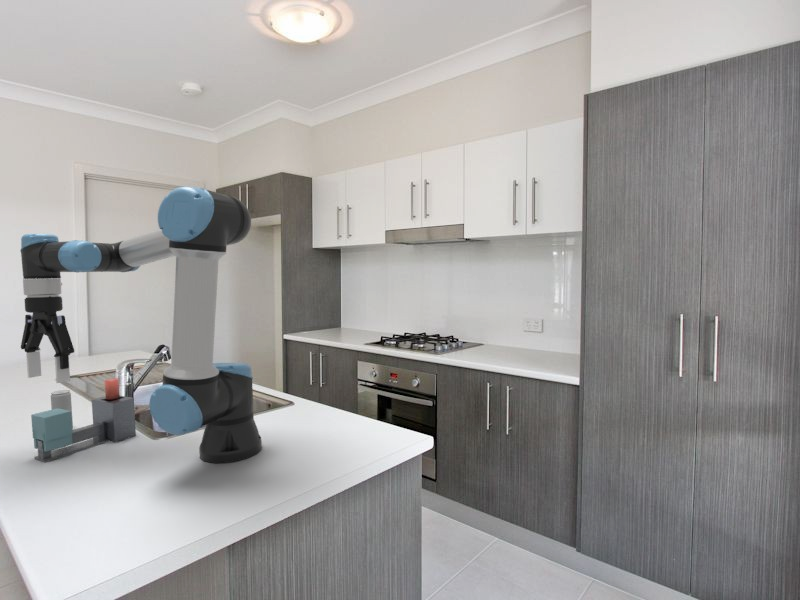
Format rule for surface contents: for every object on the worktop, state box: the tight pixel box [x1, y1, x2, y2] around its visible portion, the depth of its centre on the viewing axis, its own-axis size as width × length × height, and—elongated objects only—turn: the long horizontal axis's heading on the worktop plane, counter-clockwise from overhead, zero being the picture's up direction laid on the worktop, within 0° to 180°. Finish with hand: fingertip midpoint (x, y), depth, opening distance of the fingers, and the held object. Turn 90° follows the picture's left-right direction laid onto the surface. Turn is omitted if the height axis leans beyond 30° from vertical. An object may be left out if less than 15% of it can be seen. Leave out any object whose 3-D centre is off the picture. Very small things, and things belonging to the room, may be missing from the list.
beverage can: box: [50, 389, 74, 430], centre depth 137 cm, size 5×5×12 cm
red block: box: [104, 377, 121, 399], centre depth 131 cm, size 3×3×5 cm
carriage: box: [30, 408, 73, 452], centre depth 118 cm, size 6×6×9 cm
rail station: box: [33, 395, 137, 463], centre depth 125 cm, size 10×22×11 cm, turn 153°
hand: (48, 379), depth 117 cm, fingers open, 13 cm apart
